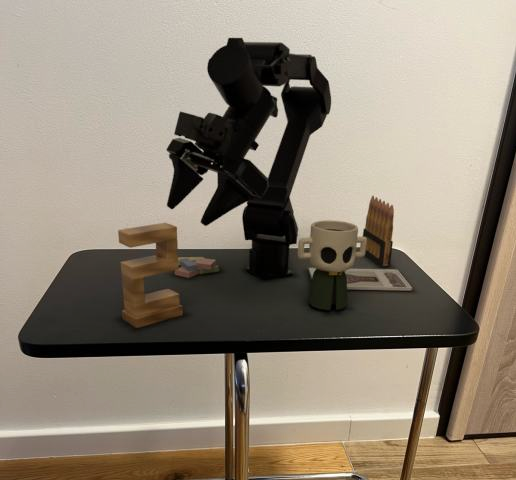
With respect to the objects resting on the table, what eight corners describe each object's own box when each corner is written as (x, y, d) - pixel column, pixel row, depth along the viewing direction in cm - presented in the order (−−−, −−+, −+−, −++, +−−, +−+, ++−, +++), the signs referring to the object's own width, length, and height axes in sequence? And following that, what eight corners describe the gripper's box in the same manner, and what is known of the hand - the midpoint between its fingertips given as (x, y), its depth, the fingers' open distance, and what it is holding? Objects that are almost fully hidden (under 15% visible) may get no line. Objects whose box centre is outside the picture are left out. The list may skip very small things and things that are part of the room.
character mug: (299, 316, 83) (305, 232, 77) (288, 299, 89) (293, 220, 83) (367, 313, 85) (377, 231, 79) (351, 296, 91) (360, 219, 85)
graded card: (308, 267, 102) (397, 269, 103) (308, 270, 103) (397, 272, 103) (315, 285, 93) (412, 287, 94) (315, 288, 94) (411, 290, 94)
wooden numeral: (168, 307, 84) (164, 221, 78) (183, 315, 82) (180, 227, 76) (122, 319, 80) (114, 229, 74) (136, 328, 77) (129, 235, 71)
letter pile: (207, 263, 105) (206, 253, 104) (221, 273, 100) (221, 263, 99) (167, 269, 101) (166, 258, 100) (180, 279, 96) (180, 268, 95)
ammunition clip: (360, 251, 115) (367, 194, 110) (368, 251, 116) (375, 194, 111) (381, 267, 106) (389, 205, 101) (389, 267, 107) (398, 205, 101)
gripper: (170, 80, 79) (114, 171, 80) (248, 95, 67) (182, 203, 68) (217, 127, 88) (167, 210, 88) (295, 148, 76) (236, 244, 76)
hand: (185, 215), depth 80 cm, fingers open, 9 cm apart
